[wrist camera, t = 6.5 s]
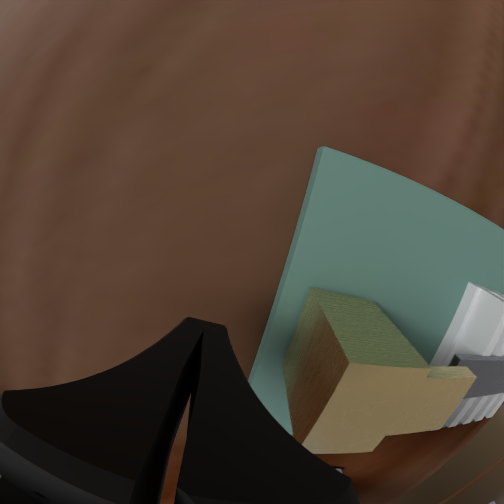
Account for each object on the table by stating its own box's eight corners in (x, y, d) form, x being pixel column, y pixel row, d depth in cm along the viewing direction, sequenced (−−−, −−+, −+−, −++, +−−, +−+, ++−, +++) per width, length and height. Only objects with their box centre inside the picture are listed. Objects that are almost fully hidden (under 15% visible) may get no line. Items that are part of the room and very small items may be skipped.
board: (477, 412, 17) (503, 447, 11) (235, 416, 15) (232, 491, 10) (551, 265, 13) (593, 286, 8) (317, 148, 11) (370, 129, 6)
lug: (394, 376, 13) (434, 442, 8) (281, 364, 12) (295, 452, 7) (427, 312, 12) (488, 368, 7) (310, 287, 11) (349, 362, 6)
